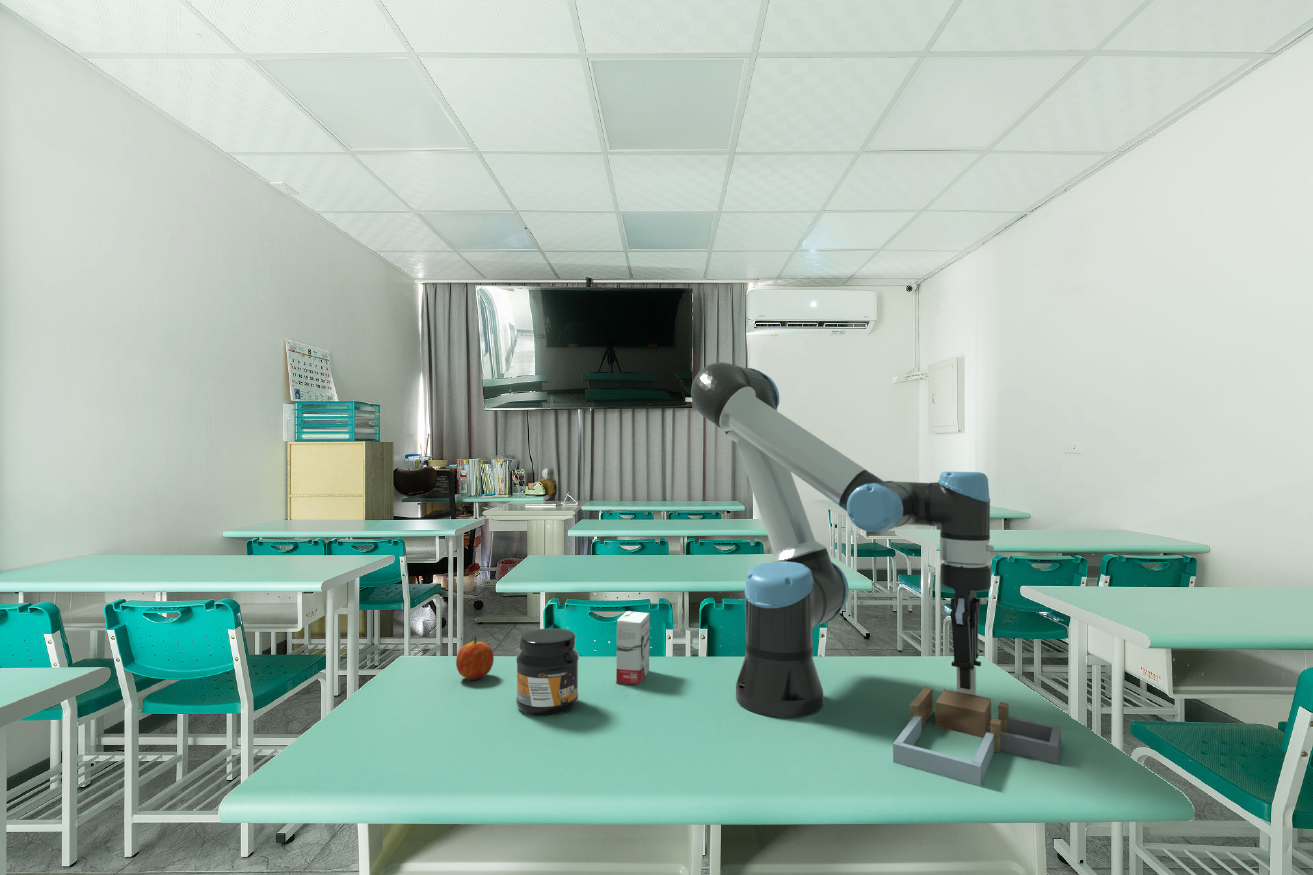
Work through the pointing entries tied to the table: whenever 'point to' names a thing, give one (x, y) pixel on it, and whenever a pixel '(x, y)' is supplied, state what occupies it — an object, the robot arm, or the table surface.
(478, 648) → the fruit
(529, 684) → the supplement container
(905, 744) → the dock
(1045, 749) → the trap pit
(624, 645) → the ink box
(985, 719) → the block
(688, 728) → the table surface
